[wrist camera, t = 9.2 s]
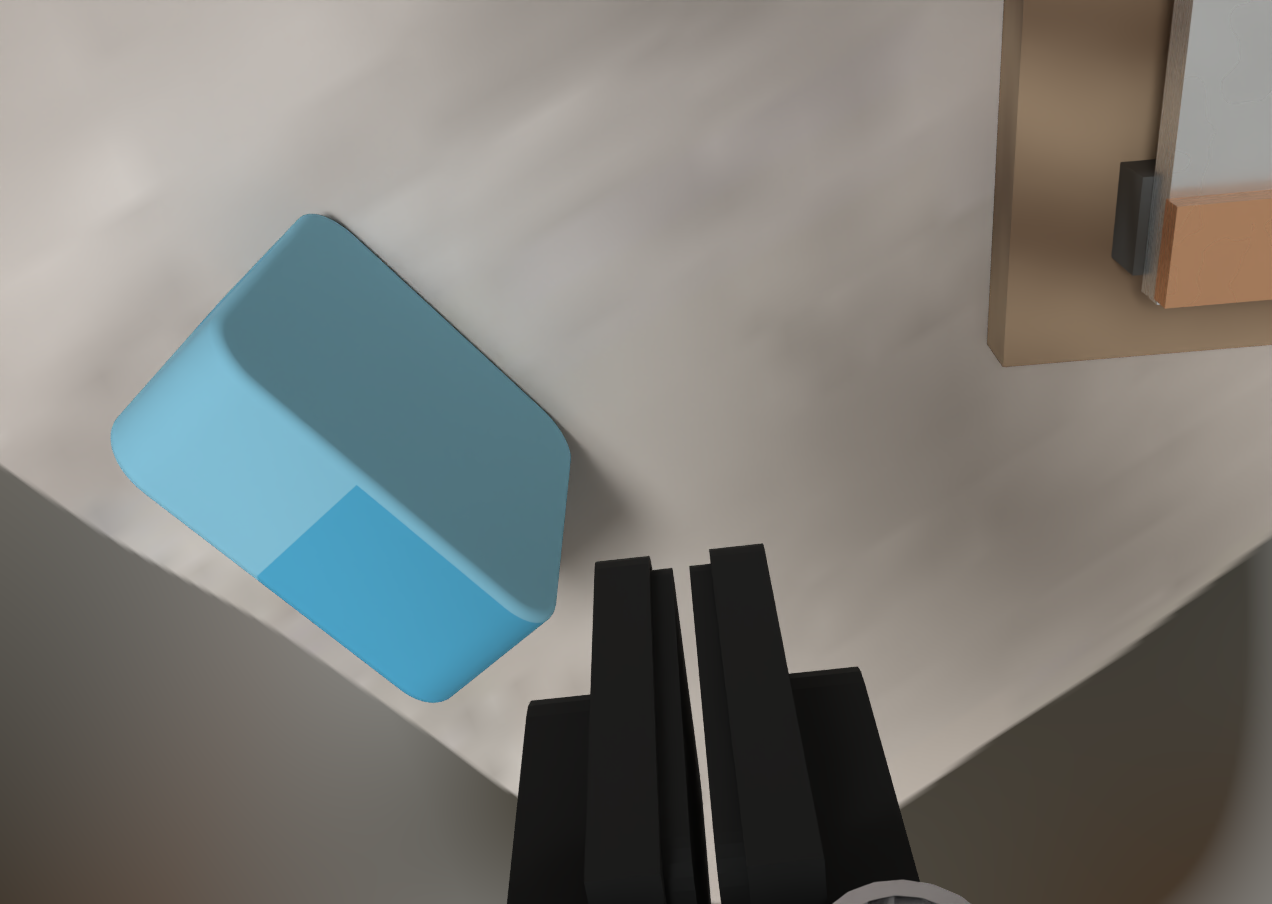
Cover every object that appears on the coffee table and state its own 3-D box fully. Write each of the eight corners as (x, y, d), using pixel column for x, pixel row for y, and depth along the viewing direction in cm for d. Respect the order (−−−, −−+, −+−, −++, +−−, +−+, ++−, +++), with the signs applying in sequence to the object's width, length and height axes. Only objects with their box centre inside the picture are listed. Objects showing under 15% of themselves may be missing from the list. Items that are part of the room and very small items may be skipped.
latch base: (1026, -441, 31) (1104, -495, 26) (1499, -493, 30) (1677, -560, 25) (987, 343, 41) (1037, 417, 36) (1341, 314, 40) (1445, 384, 35)
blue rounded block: (231, 288, 40) (84, 453, 29) (317, 198, 39) (196, 337, 28) (489, 511, 44) (443, 728, 33) (576, 437, 43) (556, 639, 32)
